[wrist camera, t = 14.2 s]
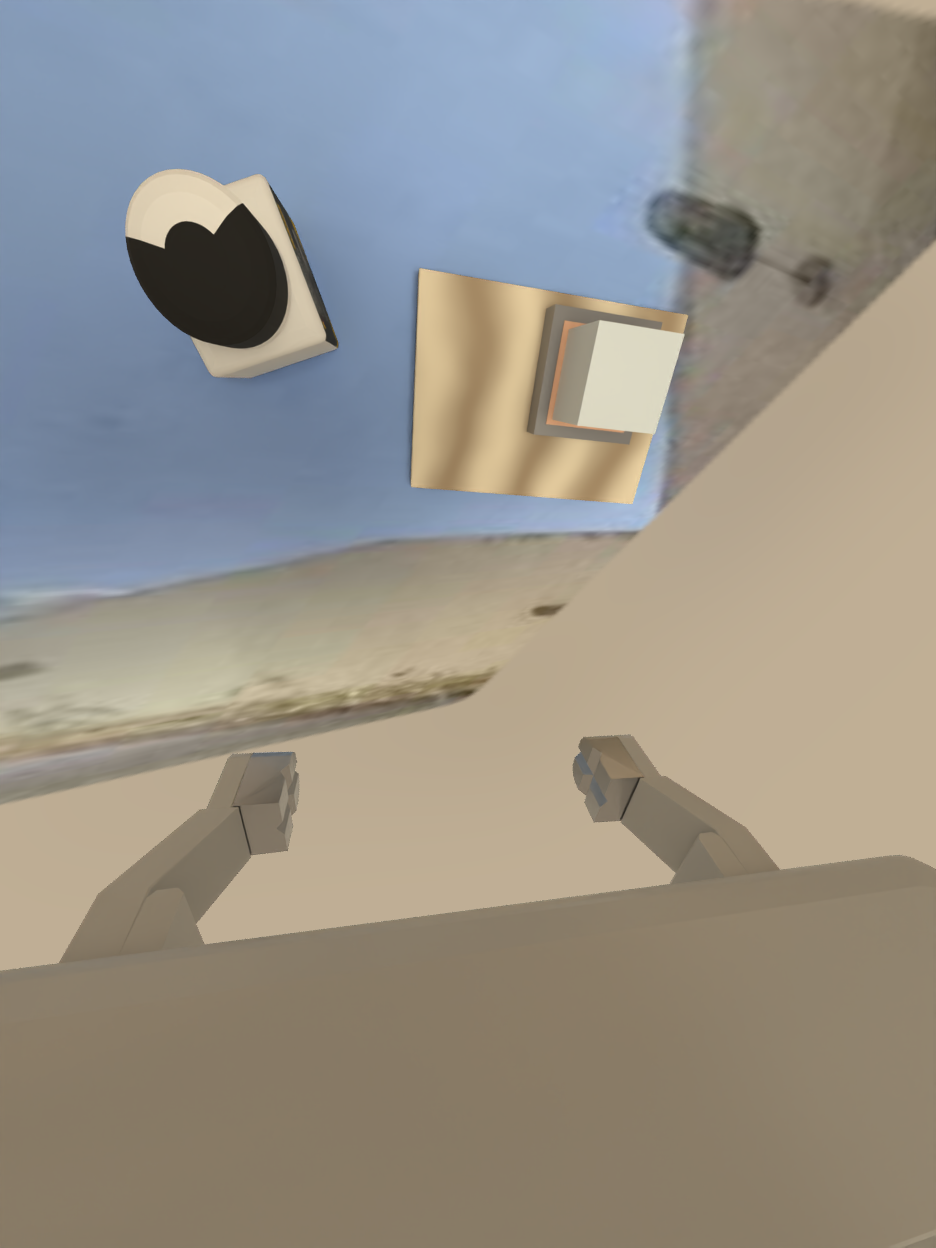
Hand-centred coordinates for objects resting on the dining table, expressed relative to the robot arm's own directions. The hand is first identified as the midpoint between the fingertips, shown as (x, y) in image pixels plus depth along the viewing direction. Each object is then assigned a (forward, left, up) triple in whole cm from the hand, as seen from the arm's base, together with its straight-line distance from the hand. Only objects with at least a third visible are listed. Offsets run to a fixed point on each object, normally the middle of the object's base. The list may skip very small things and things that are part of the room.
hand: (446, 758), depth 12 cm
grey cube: (+13, +11, -25) cm, 30 cm away
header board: (+10, +9, -29) cm, 32 cm away
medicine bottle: (-10, +13, -29) cm, 33 cm away
